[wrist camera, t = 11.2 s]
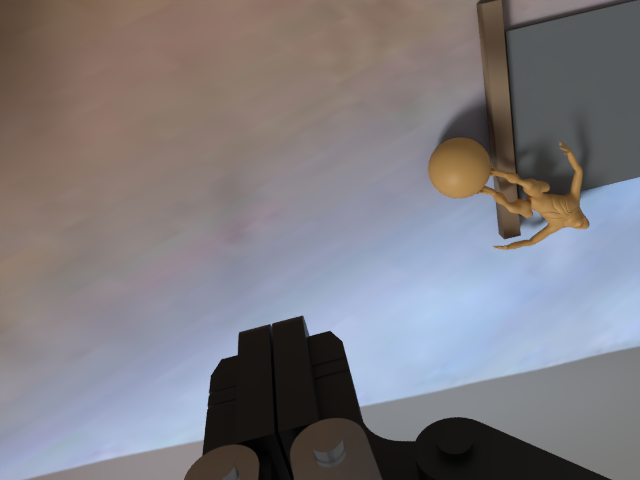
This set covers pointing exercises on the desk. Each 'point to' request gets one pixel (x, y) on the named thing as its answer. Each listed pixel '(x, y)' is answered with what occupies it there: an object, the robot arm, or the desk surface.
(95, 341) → the desk surface
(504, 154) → the bar
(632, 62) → the mat
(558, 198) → the figurine
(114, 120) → the desk surface
